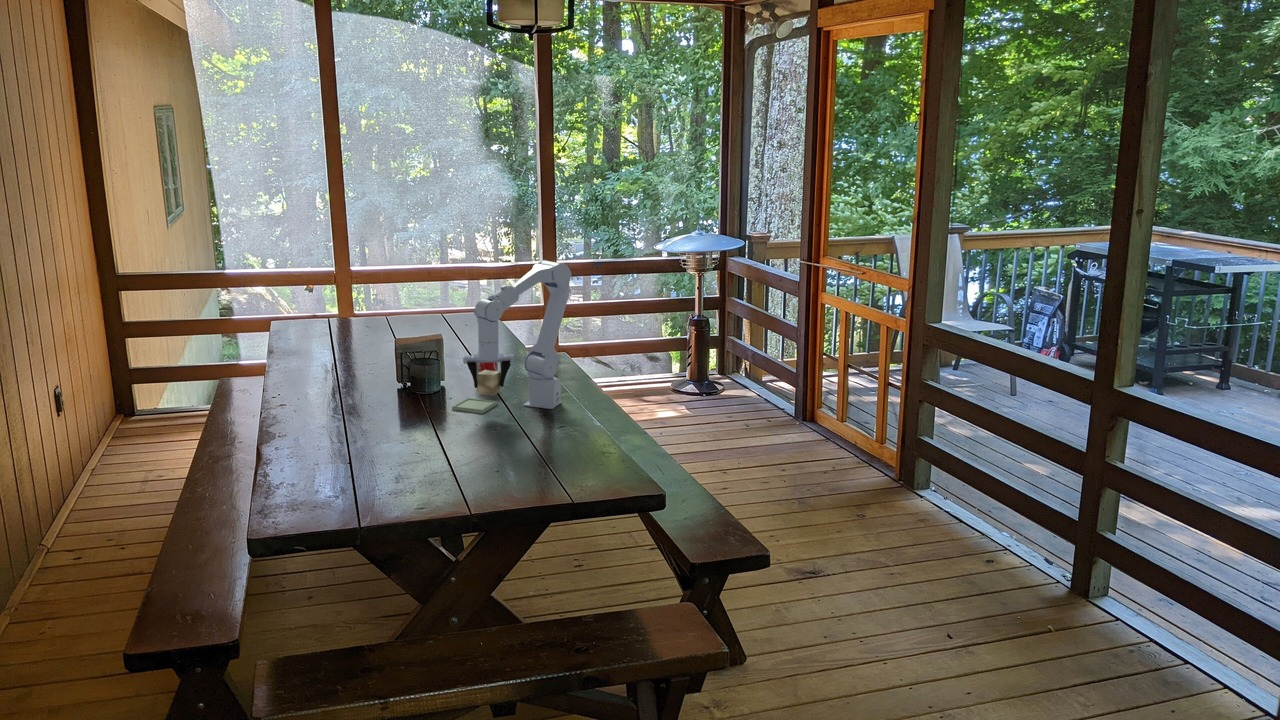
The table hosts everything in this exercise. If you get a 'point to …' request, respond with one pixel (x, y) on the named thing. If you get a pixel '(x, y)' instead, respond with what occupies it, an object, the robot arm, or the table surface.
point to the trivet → (474, 405)
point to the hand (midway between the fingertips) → (488, 386)
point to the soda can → (487, 366)
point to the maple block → (488, 382)
